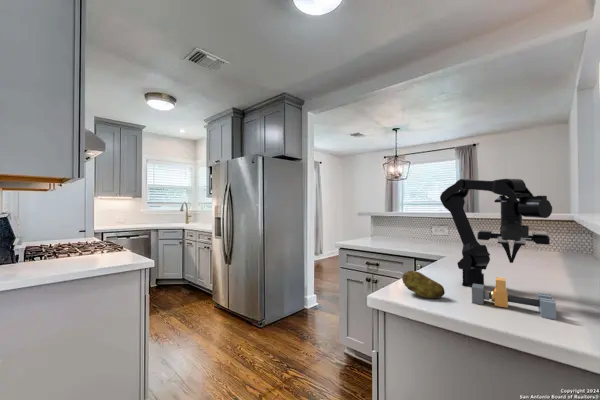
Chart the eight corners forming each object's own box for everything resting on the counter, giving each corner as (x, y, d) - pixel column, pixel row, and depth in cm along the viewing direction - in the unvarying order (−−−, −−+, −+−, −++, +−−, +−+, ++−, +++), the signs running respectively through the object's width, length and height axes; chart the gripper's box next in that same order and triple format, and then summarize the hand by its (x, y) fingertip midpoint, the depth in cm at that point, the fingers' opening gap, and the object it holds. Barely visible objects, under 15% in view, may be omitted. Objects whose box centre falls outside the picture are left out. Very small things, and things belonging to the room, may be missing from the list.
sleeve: (494, 305, 84) (494, 279, 84) (495, 301, 88) (494, 276, 88) (507, 307, 82) (507, 281, 82) (507, 303, 86) (506, 278, 86)
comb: (541, 317, 76) (541, 300, 76) (537, 307, 83) (537, 292, 83) (556, 319, 74) (555, 303, 74) (551, 309, 81) (550, 294, 82)
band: (491, 302, 85) (491, 291, 85) (491, 299, 88) (491, 289, 88) (494, 303, 84) (494, 292, 85) (494, 300, 87) (494, 289, 87)
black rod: (481, 298, 87) (481, 292, 87) (481, 296, 89) (481, 290, 89) (539, 307, 79) (539, 300, 79) (539, 305, 80) (538, 298, 80)
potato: (435, 303, 87) (435, 278, 87) (398, 293, 97) (398, 271, 97) (447, 298, 92) (446, 274, 92) (411, 289, 102) (411, 267, 102)
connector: (472, 302, 87) (471, 287, 87) (473, 298, 91) (473, 283, 91) (489, 305, 85) (488, 289, 85) (489, 301, 89) (489, 285, 89)
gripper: (475, 216, 91) (475, 263, 91) (551, 218, 80) (551, 272, 80) (479, 214, 100) (479, 257, 100) (547, 216, 89) (547, 265, 89)
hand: (511, 262), depth 92 cm, fingers closed
